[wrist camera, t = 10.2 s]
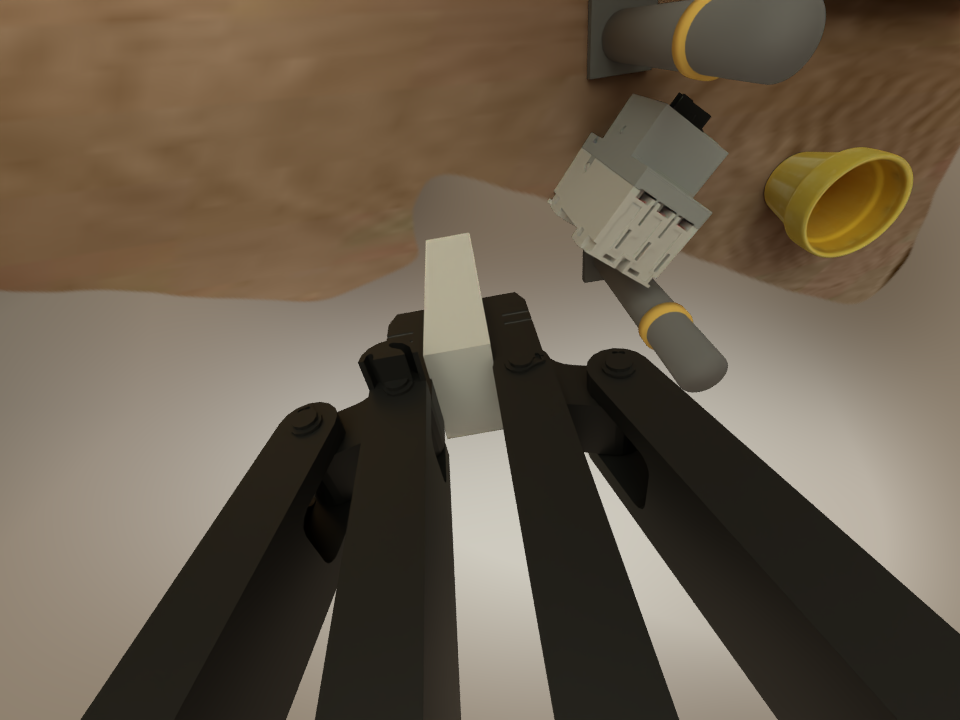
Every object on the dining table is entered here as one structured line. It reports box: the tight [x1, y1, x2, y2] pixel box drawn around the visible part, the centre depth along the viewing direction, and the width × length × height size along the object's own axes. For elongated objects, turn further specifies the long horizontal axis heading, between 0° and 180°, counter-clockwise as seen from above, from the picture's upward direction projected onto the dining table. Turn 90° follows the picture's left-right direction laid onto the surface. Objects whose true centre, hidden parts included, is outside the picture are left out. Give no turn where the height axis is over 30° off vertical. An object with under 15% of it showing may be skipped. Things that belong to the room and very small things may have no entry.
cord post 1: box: [587, 0, 826, 85], centre depth 32 cm, size 6×6×24 cm
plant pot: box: [764, 147, 913, 258], centre depth 47 cm, size 10×10×10 cm
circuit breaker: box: [547, 93, 728, 288], centre depth 42 cm, size 8×14×15 cm, turn 150°
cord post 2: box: [582, 250, 728, 392], centre depth 45 cm, size 6×6×24 cm
